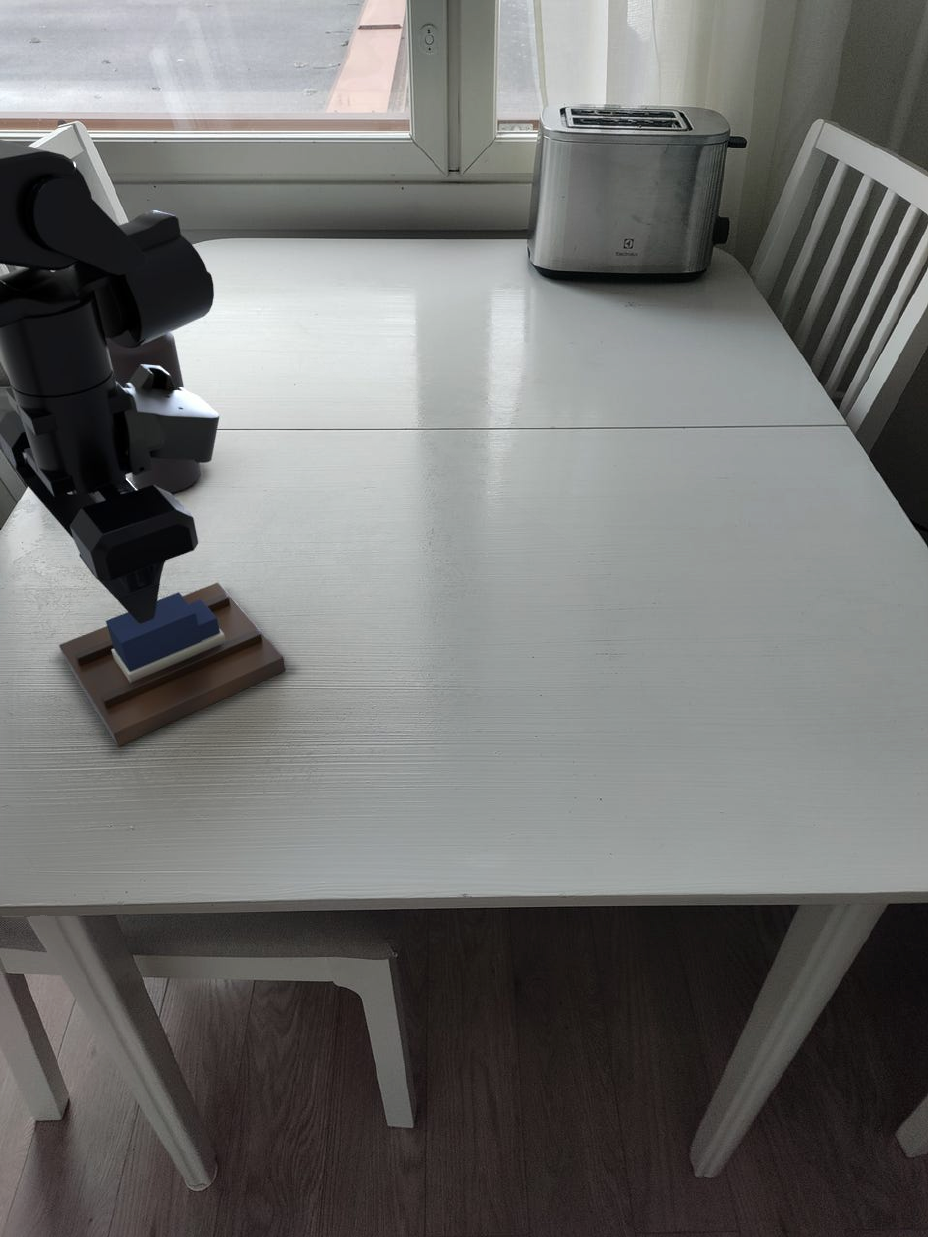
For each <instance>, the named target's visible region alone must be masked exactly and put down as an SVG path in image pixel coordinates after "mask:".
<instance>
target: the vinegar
mask: <svg viewBox="0 0 928 1237" xmlns="http://www.w3.org/2000/svg"><path fill="white" fill-rule="evenodd" d="M106 342H107V346H108V350H109V355H110V359H111V363H112V367H113V371H114V376H115V380H116V382H117V383H118V384H119V385H120V386H121V387H122V388H125V384H126V383H128V382H129V380H130V379H131V377H132V376H133V374H134V373H135V372H136V370H137V369H138V367H139V366H140V365H141V364H145V365H156V366H160V367H162V368H163V369H164V370H165V371H166V372H167V373H168V374H170V376H171V377H172V380H173V383H174V386H175V389H176V390H178V387H183V388H185V386H184V385H185V384H184V380H183V375H182V370H181V366H180V361H179V360H180V359H179V355H178V351H177V346H176V340H175V336H174V335H173V333H172V331H171V332H169V333H167V334H165V335H162V336H160V337H158V338H156V339H154V340H151V341H149V342H147V343H145V344H143V345H140V346H138V347H135V348H125V347H122V346H120V345H118V344H116V343H115V342H113V341H112V340H110V339H109V338H106ZM150 458H151V457H150ZM151 462H152V466H153V470H152V471H148V472H145V473H142V474H139V475H133V474H132V473H131V476H132V480H133V482H134V484H135V485H136V487H137V488H138V489H141V488H145V487H148V486H151V485H155V486H157V487H159V488H161V489H163V490H165V491H167V492H169V493H171V494H173V493H176V492H177V493H178V492H180V491H183V490H185V489H188V488H190V487H191V486H192V485H193V484H195V483H196V482H197V481H198V480H199V478H200V476H201V463H197V462H195V461H194V460H179V459H156V458H151Z"/></svg>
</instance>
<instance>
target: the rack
mask: <svg viewBox="0 0 928 1237" xmlns="http://www.w3.org/2000/svg"><path fill="white" fill-rule="evenodd" d="M182 597H183V598H184V599H185V600H186V602H187V603H188V604H190V603H193V602H195V601H198V600H200V599H201V600H202V601H203V602H204V603H205V604H206V606H207V607H208V608H209V609H210V610H211V612H212V613H213V614H214V615H215V616H216V618H217V620H218V625H219V629H220V630H221V631H222V632H223V633H224V636H225V640H226V642H225V643H223V644H220V645H218V646H216V647H213V648H211V649H209V650H206V651H204V652H201V653H199V654H197V655H194V656H192V657H190V658H187V659H185V660H183V661H180V662H178V663H176V664H173V665H171V666H169V667H166V668H164V669H162V670H159V671H157V672H155V673H152V674H150V675H147V676H145V677H143V678H140V679H138V680H136V681H133V682H131V683H130V681H129V680H128V678H127V677H126V675H125V674H124V673H123V671H122V670H121V668H120V667H119V665H118V664H117V662H116V661H115V659H114V657H113V654H112V649H114V646H113V643H112V640H111V637H110V634H109V630H108V627H107V625H106V626H103V627H101V628H99V629H96V630H93V631H90V632H88V633H86V634H83V635H81V636H78V637H75V638H73V639H70V640H68V641H65V642H63V643H60V644H58V647H59V650H60V653H61V655H62V658H63V660H64V661H65V663H66V665H67V667H68V668H69V670H70V671H71V673H72V674H73V676H74V678H75V679H76V682H77V683H78V685H79V686H80V688H81V689H82V691H83V692H84V694H85V695H86V698H87V699H88V702H90V704H91V706H92V707H93V709H94V710H95V712H96V714H97V715H98V717H99V719H100V720H101V722H102V724H103V725H104V727H105V728H106V730H107V732H108V734H109V735H110V737H111V738H112V739H113V741H114V743H115V745H116V747H121V746H123V745H125V744H128V743H129V742H132V741H134V740H136V739H138V738H140V737H143V736H145V735H147V734H149V733H152V732H153V731H156V730H158V729H161V728H162V727H165V726H167V725H170V724H171V723H174V722H176V721H179V720H180V719H182V718H185V717H187V716H189V715H191V714H194V713H196V712H198V711H200V710H203V709H204V708H207V707H209V706H211V705H214V704H215V703H217V702H220V701H222V700H225V699H226V698H228V697H231V696H233V695H235V694H237V693H239V692H242V691H244V690H246V689H248V688H251V687H253V686H255V685H257V684H259V683H262V682H264V681H266V680H268V679H271V678H272V677H275V676H277V675H280V674H281V673H283V672H286V670H287V669H286V663H285V658H284V655H282V653H281V652H280V651H279V650H278V649H277V648H276V647H275V645H274V644H273V643H272V642H271V641H270V640H269V638H267V636H266V635H265V634H264V632H262V631H261V629H260V628H259V627H258V626H257V624H256V623H255V622H254V621H253V620H252V619H251V618H250V617H249V616H248V614H247V613H246V612H245V611H244V609H242V608H241V606H240V605H239V604H238V603H237V602H236V601H235V599H234V598H233V597H232V596H231V595H230V594H229V592H228V591H227V590H226V589H225V588H224V587H223V586H222V585H221V584H220V582H219V581H218V582H215V583H213V584H210V585H208V586H205V587H203V588H200V589H197V590H195V591H192V592H190V593H188V594H185V595H182Z"/></svg>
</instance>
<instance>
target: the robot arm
mask: <svg viewBox="0 0 928 1237" xmlns="http://www.w3.org/2000/svg"><path fill="white" fill-rule="evenodd" d="M0 265H4V266H5V265H7V266H12V267H20V269H16V270H14V271H11V272H9V273H5V274H3V275H0V354H1V357H2V361H3V364H4V367H5V370H6V374H7V376H8V380H9V383H10V387H5V388H4V389H5V393H6V396H7V398H8V402H9V405H10V406H11V407H12V408H13V410H12V411H7V412H6V413H5V414H4V415H3V417H2V419H1V420H0V445H1V448H2V451H3V454H4V455H5V457H6V458H7V459H8V460H9V462H10V463H11V464H12V467H13V469H14V470H15V472H16V473H17V475H18V476H19V477H20V478H21V481H23V482H24V484H25V485H26V486H27V487H28V489H29V490H30V491H31V492H32V494H34V496H35V497H36V498H37V499H38V500H39V502H41V504H42V505H43V506H44V507H45V508H46V509H47V511H49V512H50V514H51V515H52V516H53V517H54V518H55V520H56V521H57V523H59V524H60V526H61V527H62V528H63V529H64V531H66V532H67V534H69V536H70V537H71V538H72V540H73V542H74V543H75V546H76V548H77V550H78V552H79V554H78V556H79V558H80V559H81V561H82V562H83V563H84V565H85V566H86V567H87V568H88V570H89V571H90V573H91V575H93V577H94V578H95V580H97V581H99V582H100V584H101V585H102V586H103V587H104V588H105V589H106V590H107V591H108V592H109V593H110V594H111V596H113V597H114V598H115V600H116V601H117V602H118V603H119V604H120V605H121V606H122V607H123V608H124V609H125V610H126V611H127V612H129V613H130V614H131V616H132V617H133V618H134V619H135V620H136V621H137V622H138V623H140V624H142V623H144V622H147V621H149V620H152V619H153V618H154V617H155V612H156V605H157V601H158V600H159V599H158V597H159V592H160V585H161V578H162V574H163V569H164V565H165V563H166V561H169V560H173V559H174V558H177V557H180V556H183V555H186V554H188V553H191V552H193V551H195V550H196V548H197V546H198V545H199V539H198V533H197V529H196V523H195V517H194V516H192V514H191V513H190V512H189V511H188V510H187V509H186V508H185V507H184V505H183V504H181V502H180V501H178V499H176V497H175V496H174V495H173V493H169V492H167V491H165V490H163V489H161V488H159V487H157V486H155V485H151V486H148V487H145V488H141V489H140V488H138V489H137V488H136V487H135V486H134V485H133V484H132V483H131V481H130V480H129V479H128V478H127V475H128V474H129V475H130V474H131V475H132V474H133V475H139V474H142V473H145V472H148V471H152V470H153V466H152V462H151V458H156V459H179V460H194V461H195V462H197V463H199V464H207V463H210V462H211V461H212V459H213V454H214V450H215V443H216V439H217V438H216V437H217V433H218V426H219V423H220V422H219V420H220V414H219V413H218V411H216V410H215V409H213V407H211V406H210V405H209V404H208V403H207V402H206V401H205V400H204V399H202V398H201V397H200V396H199V395H197V394H195V393H193V392H190V391H188V390H187V389H186V388H185V387H184V388H183V387H178V390H176V389H175V386H174V383H173V380H172V377H171V376H170V374H168V373H167V372H166V371H165V370H164V369H163V368H162V367H160V366H156V365H145V364H141V365H140V366H139V367H138V369H137V370H136V372H135V373H134V374H133V376H132V377H131V379H130V380H129V382H128V383H126V384H125V388H122V387H121V386H120V385H119V384H118V383H117V382H116V380H115V376H114V371H113V367H112V363H111V359H110V355H109V350H108V346H107V342H106V338H109V339H110V340H112V341H113V342H115V343H116V344H118V345H120V346H122V347H125V348H135V347H138V346H140V345H143V344H145V343H147V342H149V341H151V340H154V339H156V338H158V337H160V336H162V335H165V334H167V333H169V332H171V333H172V332H173V331H175V330H178V329H180V328H182V327H184V326H186V325H189V324H191V323H193V322H195V321H197V320H199V319H202V318H204V317H206V316H207V315H208V313H209V312H210V311H211V308H212V306H213V304H214V298H215V290H214V288H215V287H214V281H213V276H212V274H211V272H209V271H208V270H207V267H206V264H205V262H204V260H203V259H202V257H201V255H200V253H199V252H198V251H197V249H196V247H194V245H193V244H192V243H191V242H190V241H189V240H188V239H187V238H186V237H185V236H184V235H182V233H181V227H180V222H179V217H178V216H176V215H175V214H171V213H168V212H167V213H166V212H163V211H159V210H155V209H152V210H149V211H146V212H144V213H141V214H138V215H137V216H136V217H135V218H133V219H132V220H130V221H127V222H125V223H122V224H119V225H118V224H117V223H116V222H115V221H114V220H113V219H112V218H111V217H110V216H109V215H108V214H107V213H106V212H105V210H103V209H102V207H100V205H99V204H98V203H97V202H96V201H95V200H94V199H93V198H92V192H91V190H90V187H89V186H88V183H87V181H86V178H85V177H84V175H83V174H82V172H81V171H80V170H79V169H78V168H77V167H76V162H75V161H74V160H73V159H71V158H70V157H68V156H67V155H64V154H61V153H58V152H54V151H50V150H45V149H42V148H37V147H33V146H30V145H29V146H28V145H24V144H21V143H16V142H12V141H7V140H2V139H0ZM150 457H151V458H150Z"/></svg>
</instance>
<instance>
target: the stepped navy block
mask: <svg viewBox="0 0 928 1237" xmlns="http://www.w3.org/2000/svg"><path fill="white" fill-rule="evenodd" d="M182 596H183V595H182V594H181V593H180V591H179V592H176V593H173V594H171V595H168V596H165V597H163V598H160V599H157V605H156V612H155V617H154V618H153V619H152V620H149V621H147V622H144V623H142V624H140V623H138V622H137V621H136V620H135V619H134V618H133V617H132V616H131V614H130V613H129V612H128V611H127V612H125V613H122V614H119V615H117V616H113V617H111V618H109V619H106V620H105V624H106V626H107V627H108V630H109V634H110V637H111V640H112V643H113V646H114V649H112V654H113V657H114V659H115V661H116V662H117V664H118V665H119V667H120V668H121V670H122V671H123V673H124V674H125V675H126V677H127V678H128V680H129V681H130V683H131V682H133V681H136V680H138V679H140V678H143V677H145V676H147V675H150V674H152V673H155V672H157V671H159V670H162V669H164V668H166V667H169V666H171V665H173V664H176V663H178V662H180V661H183V660H185V659H187V658H190V657H192V656H194V655H197V654H199V653H201V652H204V651H206V650H209V649H211V648H213V647H216V646H218V645H220V644H223V643H225V642H226V640H225V636H224V633H223V632H222V631H221V630H220V629H219V625H218V620H217V618H216V616H215V615H214V614H213V613H212V612H211V610H210V609H209V608H208V607H207V606H206V604H205V603H204V602H203V601H202V600H201V599H200V600H198V601H195V602H193V603H190V604H188V603H187V602H186V600H185V599H184V598H183V597H182Z"/></svg>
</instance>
